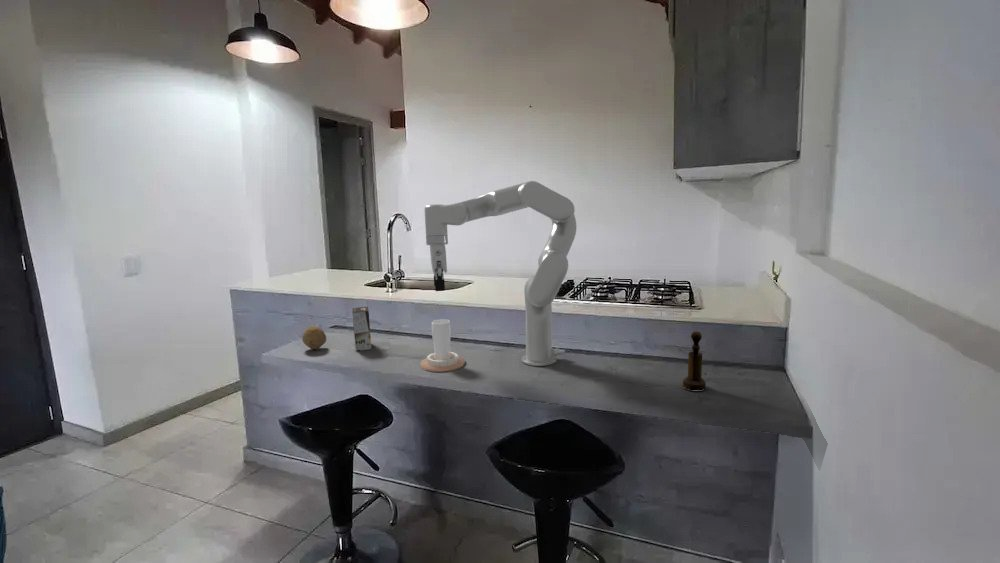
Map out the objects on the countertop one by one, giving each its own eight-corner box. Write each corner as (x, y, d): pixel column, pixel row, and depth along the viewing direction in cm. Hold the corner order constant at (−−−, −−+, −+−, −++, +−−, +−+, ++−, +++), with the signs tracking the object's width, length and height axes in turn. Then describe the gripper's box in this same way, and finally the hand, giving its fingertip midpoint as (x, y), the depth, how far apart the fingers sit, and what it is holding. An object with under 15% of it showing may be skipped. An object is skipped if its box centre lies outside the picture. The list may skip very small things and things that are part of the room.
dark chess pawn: (687, 382, 154) (689, 327, 150) (708, 386, 150) (711, 330, 146) (679, 389, 149) (682, 332, 145) (701, 394, 145) (704, 336, 141)
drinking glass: (448, 364, 173) (447, 324, 170) (430, 363, 174) (428, 323, 171) (454, 358, 179) (452, 319, 176) (436, 357, 180) (434, 318, 178)
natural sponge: (297, 351, 195) (295, 327, 194) (314, 345, 203) (311, 322, 202) (315, 353, 192) (312, 329, 190) (330, 347, 200) (328, 324, 198)
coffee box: (371, 349, 196) (368, 311, 193) (355, 351, 194) (352, 312, 191) (370, 343, 204) (368, 306, 202) (355, 344, 203) (352, 307, 200)
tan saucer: (462, 355, 185) (462, 347, 185) (466, 369, 170) (466, 361, 169) (420, 358, 183) (419, 351, 182) (421, 373, 167) (420, 365, 167)
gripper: (449, 241, 161) (451, 292, 164) (446, 237, 177) (448, 283, 180) (426, 242, 159) (429, 293, 162) (425, 238, 176) (427, 284, 179)
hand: (439, 288), depth 171 cm, fingers open, 9 cm apart
